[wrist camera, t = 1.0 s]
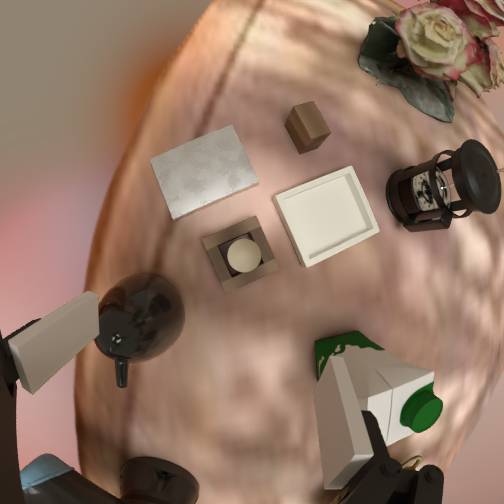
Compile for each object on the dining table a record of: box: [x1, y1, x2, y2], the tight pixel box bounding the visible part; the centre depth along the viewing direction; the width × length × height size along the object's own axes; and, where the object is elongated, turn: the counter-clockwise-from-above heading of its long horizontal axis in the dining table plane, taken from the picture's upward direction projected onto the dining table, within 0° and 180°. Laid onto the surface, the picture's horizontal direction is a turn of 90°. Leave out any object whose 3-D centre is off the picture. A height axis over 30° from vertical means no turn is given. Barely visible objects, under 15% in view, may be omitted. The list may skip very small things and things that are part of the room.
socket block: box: [202, 216, 279, 293], centre depth 35 cm, size 7×7×4 cm
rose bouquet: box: [359, 0, 504, 123], centre depth 25 cm, size 26×29×30 cm
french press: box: [386, 139, 504, 232], centre depth 27 cm, size 12×9×23 cm
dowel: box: [228, 239, 261, 272], centre depth 31 cm, size 3×3×12 cm
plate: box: [150, 125, 259, 221], centre depth 36 cm, size 12×9×2 cm
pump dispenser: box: [94, 274, 185, 388], centre depth 28 cm, size 10×10×15 cm
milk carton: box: [315, 331, 443, 446], centre depth 28 cm, size 9×9×20 cm
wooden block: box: [285, 101, 331, 154], centre depth 34 cm, size 3×5×6 cm, turn 24°
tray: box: [272, 166, 380, 268], centre depth 36 cm, size 12×10×2 cm
